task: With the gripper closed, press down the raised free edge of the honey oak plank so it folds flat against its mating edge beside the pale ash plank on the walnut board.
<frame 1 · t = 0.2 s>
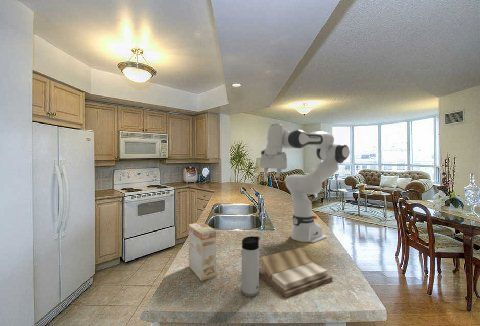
hand: (271, 176, 127), 39 cm above the countertop, tool pointing down, fingers open, 8 cm apart
travel mug: (250, 292, 83), on the countertop
pale ash plank: (300, 281, 90), resting on walnut board
teacup and saucer: (244, 252, 120), on the countertop
walnut board: (292, 276, 94), on the countertop
coffeecake box: (202, 271, 98), on the countertop
honey oak plank: (286, 261, 97), point 5 cm above the countertop, hinge at 30.0°
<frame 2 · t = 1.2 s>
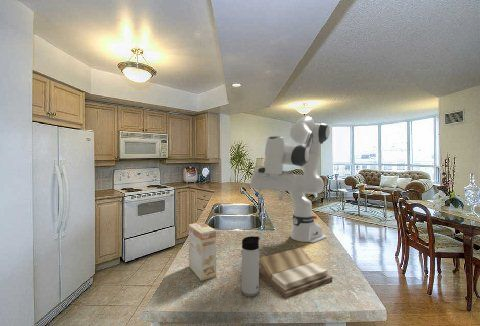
hand: (270, 199, 106), 30 cm above the countertop, tool pointing down, fingers open, 8 cm apart
nothing on the countertop moved.
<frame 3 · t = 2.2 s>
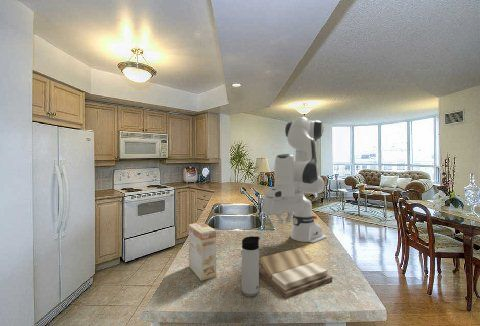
hand: (284, 222, 99), 21 cm above the countertop, tool pointing down, fingers open, 3 cm apart
nothing on the countertop moved.
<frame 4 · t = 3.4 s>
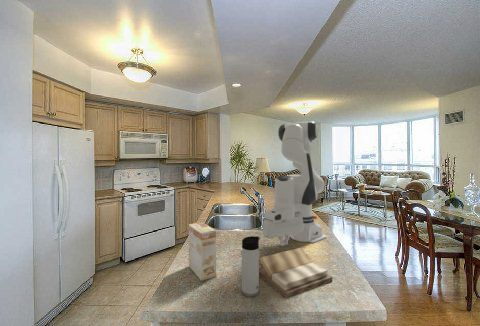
hand: (283, 244, 98), 11 cm above the countertop, tool pointing down, fingers closed
nothing on the countertop moved.
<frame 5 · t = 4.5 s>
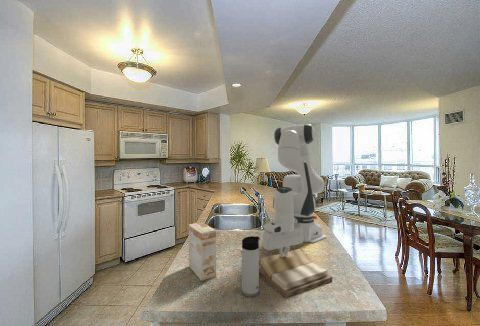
hand: (283, 256, 98), 6 cm above the countertop, tool pointing down, fingers closed, pressing on honey oak plank
honey oak plank: (286, 261, 98), point 4 cm above the countertop, hinge at 25.1°, touching gripper
everything else where it was.
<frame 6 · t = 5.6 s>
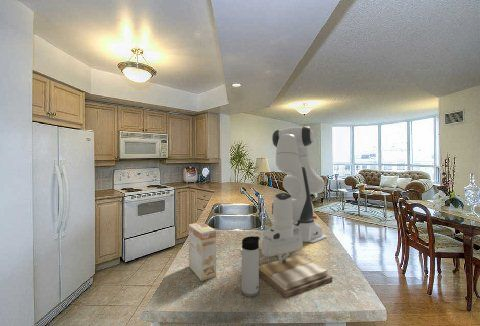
hand: (282, 262, 99), 4 cm above the countertop, tool pointing down, fingers closed, pressing on honey oak plank
honey oak plank: (286, 265, 98), point 3 cm above the countertop, hinge at 0.9°, touching gripper
everything else where it was.
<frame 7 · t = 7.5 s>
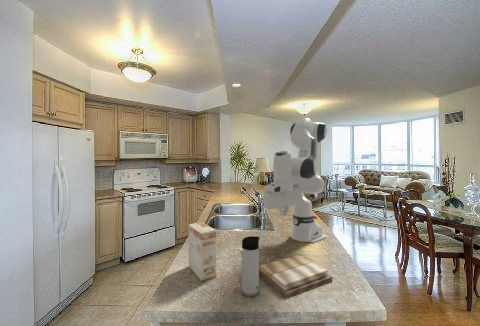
hand: (283, 215, 106), 22 cm above the countertop, tool pointing down, fingers closed
honey oak plank: (286, 265, 98), point 3 cm above the countertop, hinge at 0.8°
everything else where it was.
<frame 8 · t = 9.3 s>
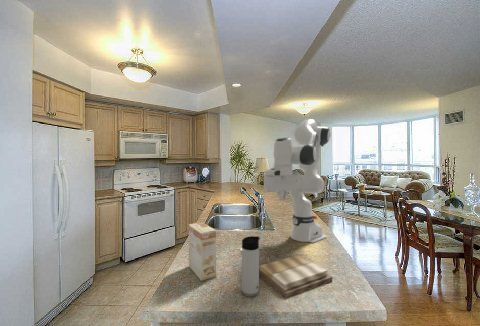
hand: (282, 200, 109), 29 cm above the countertop, tool pointing down, fingers closed
nothing on the countertop moved.
at the end: honey oak plank at +1° (first picture: +30°); travel mug moved 0.2 cm from its start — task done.
